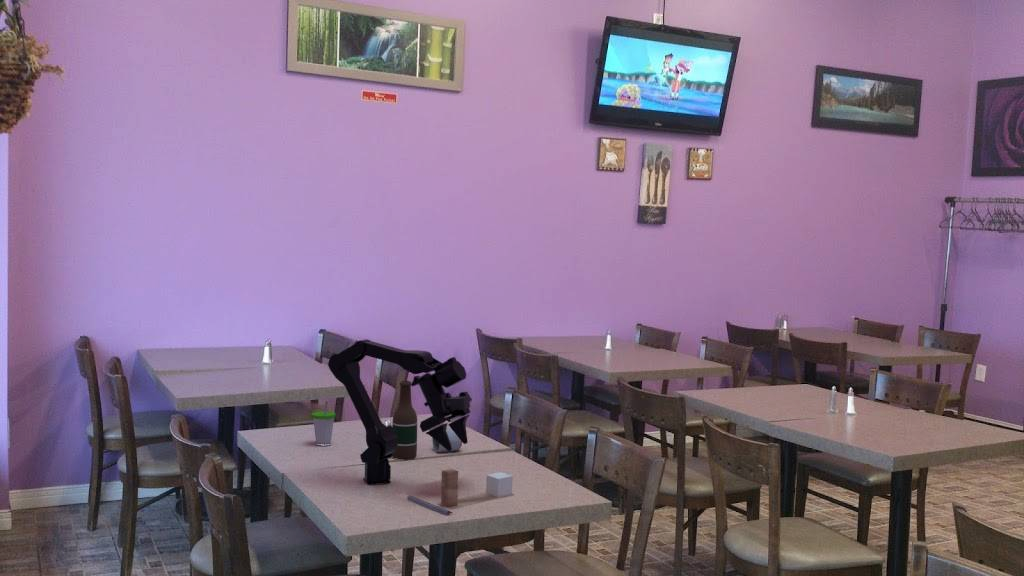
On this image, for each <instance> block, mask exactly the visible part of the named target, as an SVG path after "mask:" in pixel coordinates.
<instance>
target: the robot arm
mask: <svg viewBox="0 0 1024 576" xmlns="http://www.w3.org/2000/svg"><path fill="white" fill-rule="evenodd" d="M366 356H367V357H370V358H374V359H377V360H381V361H384V362H387V363H392V364H396V365H398V366H399V367H401V368H402V369H403V370H405V371H406V372H409V373H411V374H413V375H414V376H413V378H412V379H413V380H412V381H411V387H416V386H419V388H420V390H421V392H422V396H423V397H424V399H425V402H424V403H423V404H424V407H428V408H429V410H430V412H431V413H430V414H431V416H430V417H428V418H426V419H424V420H421V421H420V425H419V428H420V430H421V432H422V433H425V435H429V436H430V438H434V439H435V440H436V441H437V442H439V443H440V444H441V445H442V446H443V447H444V448H445V449H447V450H448V451H447V452H451V451H450V450H452V447H451V443H450V441H449V438H448V435H447V432H446V428H447V427H448V426H449V427H450V428H451V429H452V430H453V431H454V433H455V434H456V435H457V436H458V438H459V439H460V440H461V441H462V444H463V445H465V444H468V434H467V425H466V423H467V419H468V418H469V417H470V413H471V410H470V408H471V402H472V400H473V399H472V397H471V395H470V394H469V392H468V391H461V392H459V394H458V395H457V396H452V394H451V393H450V392H446V390H445V388H450V387H452V386H454V385H456V384H458V383H460V382H462V381H464V380H466V378H467V371H466V369H465V366H463V365H462V363H461V362H460V361H459V360H457V359H456V356H453V357H449V358H448V359H447V360H446V361H444V362H441V361H440V360H438V359H436V358H435V357H434V356H433V355H432V353H431V352H429V351H427V350H416V349H415V350H413V349H412V350H409V349H408V350H405V349H402V348H397V347H394V346H391V345H387V344H382V343H379V342H375V341H372V340H370V339H369V338H368V339H361V340H360V339H359V340H358V341H356V342H355V343H354V344H352V345H351V346H349V347H347V348H345V349H343V350H342V351H341V352H339V353H334V354H332V355H331V356H330V357H329V360H328V362H327V365H328V369H329V371H330V372H331V373H332V374H333V376H334V378H335V379H336V380H338V382H340V383H341V384H342V385H344V388H345V390H346V391H347V394H348V396H349V398H350V400H351V402H352V405H353V406H354V408H355V410H356V413H357V415H358V417H359V419H360V421H361V423H362V425H363V427H364V429H365V443H366V445H367V448H366V449H365V450H363V452H362V453H361V454H360V459H361V463H364V476H363V478H362V480H363V481H364V483H366V485H368V486H372V485H384V484H391V472H392V471H391V469H392V466H391V465H390V461H389V459H391V458H393V457H392V455H393V452H395V450H396V449H397V445H398V442H397V439H396V438H398V437H397V436H396V435H395V433H394V430H393V427H392V425H391V424H390V425H387V426H386V425H385V424H384V423H383V422H382V420H381V418H380V416H379V414H378V412H377V410H376V408H375V406H374V404H373V402H372V400H371V397H370V396H369V394H368V391H367V390H366V388H365V385H364V383H363V381H362V379H361V367H360V364H359V363H360V362H361V361H363V360H364V359H365V358H366ZM431 372H434V373H432V374H431ZM423 373H424V374H423ZM419 374H420V375H419ZM421 374H423V375H421Z"/></svg>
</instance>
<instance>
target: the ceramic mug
mask: <svg viewBox="0 0 1024 576" xmlns="http://www.w3.org/2000/svg"><path fill="white" fill-rule="evenodd" d="M446 432H447V435H448V438H449V441H450V443H451V447H452V450H450V451H448V450H447V449H445V448H444V447H443V446H442V445H441V444H440V443H439V442H437V441H436V440H435V439H434V438H432V437H431V438H432V439H431V440H432V441H431V442H432V448H433V450H434V452H435V451H436V452H435V453H446V452H457V451H459V450H460V449H461V448H462V444H463V442H462V441H461V440H460V439H459V438H458V436H457V435H456V434H455V433H454V431H453V430H452V429H451V427H450V428H446Z"/></svg>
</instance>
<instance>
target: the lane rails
mask: <svg viewBox="0 0 1024 576" xmlns="http://www.w3.org/2000/svg"><path fill="white" fill-rule="evenodd" d="M406 500H407V501H409V502H412V503H414V504H417V505H419V506H422V507H425V508H427V509H429V508H430V510H432V511H434V510H435V511H434V512H437V513H439V512H440V514H441V515H444V516H450V515H451V513H450V510H449V509H448V510H447V509H445V508H444V507H443V508H442V507H441V506H439V505H438V506H437V505H436V504H432V503H431V502H428V501H424V500H423V499H420V498H417V497H414V496H413V495H408V496H407V499H406Z"/></svg>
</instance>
